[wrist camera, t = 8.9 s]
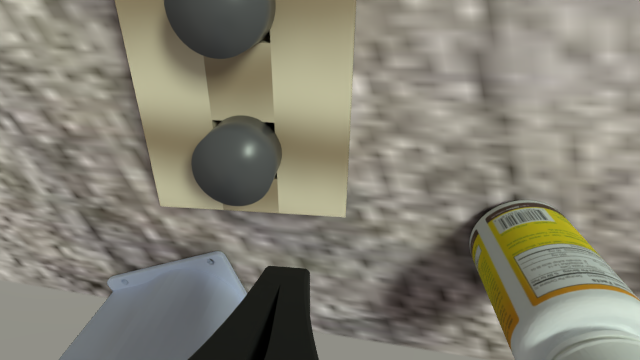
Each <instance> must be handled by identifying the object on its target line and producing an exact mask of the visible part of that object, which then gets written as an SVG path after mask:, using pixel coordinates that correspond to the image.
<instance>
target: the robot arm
mask: <svg viewBox="0 0 640 360" xmlns="http://www.w3.org/2000/svg"><path fill="white" fill-rule="evenodd" d="M210 259H212V260H213V261H211V260H210ZM107 284H108V286H109V287H110V288H111V290H112V291H113V292H112V294H111V295H110V296H109V297H108V299H107V300H106V301H105V302H104V304H103V305H102V306H101V307H100V309H99V310H98V311H97V313H96V314H95V315H94V316H93V317H92V319H91V320H90V321H89V322H88V324H87V325H86V326H85V327H84V329H83V330H82V331H81V332H80V334H79V335H78V336H77V337H76V338H75V340H74V341H73V342H72V343H71V345H70V346H69V347H68V349H67V350H66V351H65V352H64V353H63V355H62V356H61V357H60V359H59V360H319V359H318V355H317V351H316V346H315V342H314V337H313V332H312V327H311V320H310V272H309V271H308V270H307V269H303V268H290V267H277V266H268V267H267V268H265V270H264V271H263V273H262V274H261V276H260V277H259V279H258V280H257V282H256V283H255V284H254V286H253V287H252V288H251V290H250V291H249V292H248V294H247V293H246V291H245V289H244V287H243V286H242V284H241V282H240V280H239V279H238V277H237V275H236V273H235V272H234V270H233V268H232V266H231V265H230V263H229V261H228V259H227V257H226V256H225V254H224V253H222V252H220V251H215V252H211V253H206V254H202V255H198V256H194V257H190V258H186V259H182V260H177V261H173V262H169V263H165V264H161V265H157V266H152V267H148V268H144V269H140V270H136V271H132V272H128V273H123V274H119V275H115V276H112V277H110V278H109V280H108V281H107Z"/></svg>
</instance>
